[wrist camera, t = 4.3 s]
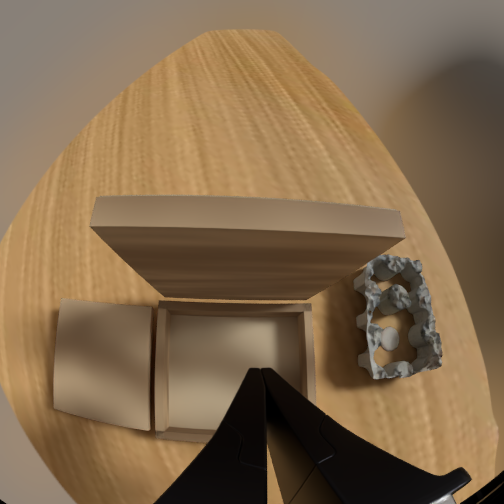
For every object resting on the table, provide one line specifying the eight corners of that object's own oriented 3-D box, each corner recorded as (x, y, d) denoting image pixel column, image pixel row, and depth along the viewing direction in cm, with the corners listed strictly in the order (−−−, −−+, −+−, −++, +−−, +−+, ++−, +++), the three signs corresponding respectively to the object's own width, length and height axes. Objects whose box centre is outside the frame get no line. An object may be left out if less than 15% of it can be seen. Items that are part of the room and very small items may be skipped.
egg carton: (416, 375, 21) (444, 372, 17) (348, 380, 20) (373, 380, 16) (411, 271, 25) (435, 255, 21) (349, 263, 25) (369, 244, 21)
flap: (306, 299, 19) (405, 237, 8) (164, 297, 18) (89, 226, 7) (305, 284, 20) (399, 207, 9) (165, 281, 19) (97, 192, 8)
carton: (306, 430, 18) (316, 436, 16) (69, 412, 16) (54, 414, 14) (302, 311, 22) (311, 303, 20) (75, 300, 20) (62, 292, 18)
